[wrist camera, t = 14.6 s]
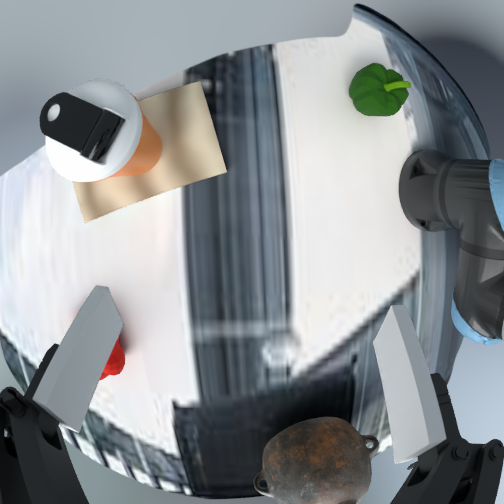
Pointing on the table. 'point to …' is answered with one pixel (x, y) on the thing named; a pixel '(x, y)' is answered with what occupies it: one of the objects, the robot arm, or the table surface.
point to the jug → (317, 463)
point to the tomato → (114, 361)
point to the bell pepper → (378, 90)
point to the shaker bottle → (98, 133)
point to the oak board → (162, 154)
